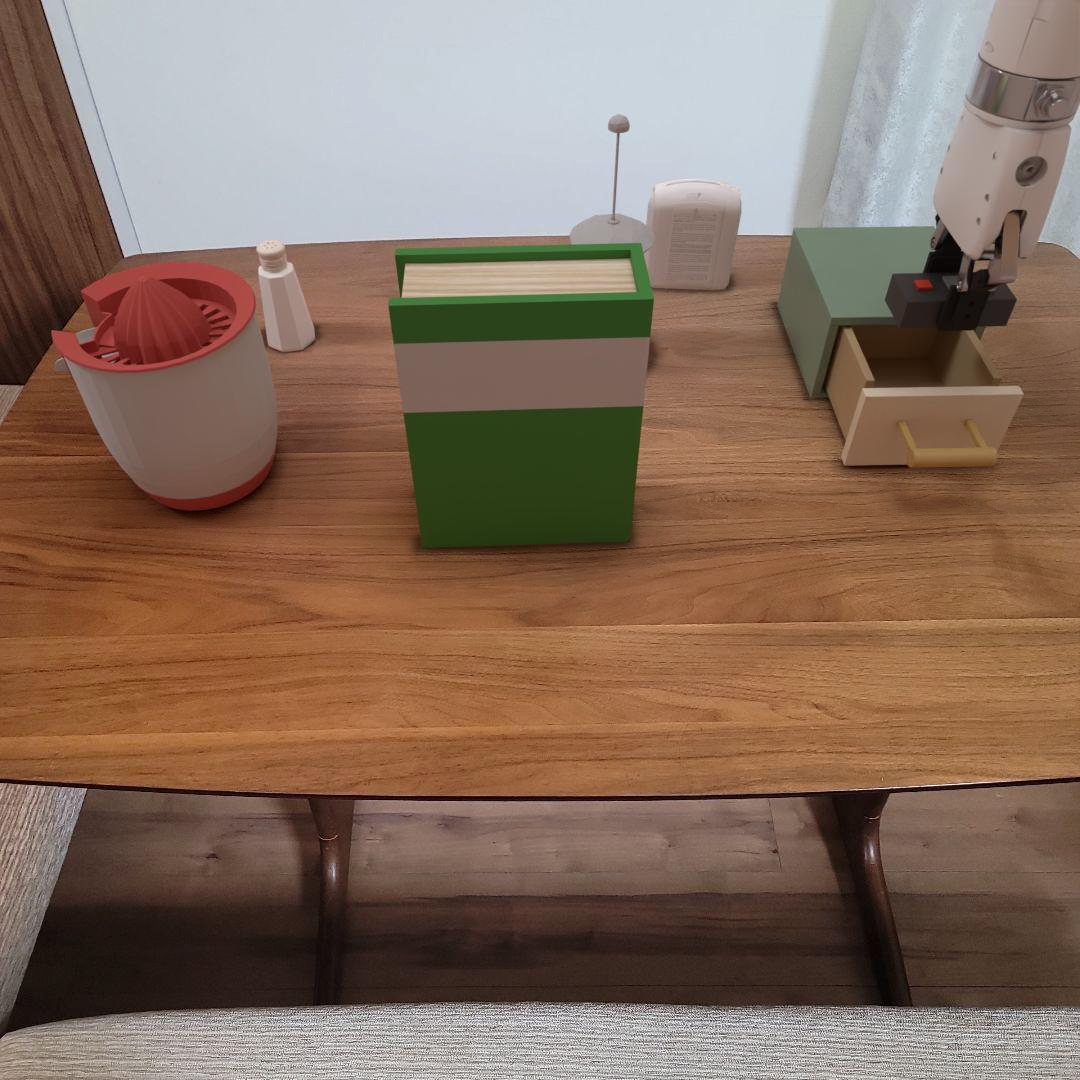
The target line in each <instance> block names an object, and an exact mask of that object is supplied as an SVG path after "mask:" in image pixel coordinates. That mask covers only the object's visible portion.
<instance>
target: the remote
mask: <svg viewBox="0 0 1080 1080" xmlns="http://www.w3.org/2000/svg"><path fill="white" fill-rule="evenodd" d="M974 272H975V271H973V273H974ZM958 275H959V272H944V273H899V274H892V277H891V280H890V284H889V287H888V290H887V294H886V297H885V302H886V304H887V306H888V307H889V309H890V311H891V313H892V315H893V317H894V319H895V321H896V323H897V325H898V326H899V328H900V329H903V328H938V327H937V322H938V319H939V316H940V313H941V311H942V308H943V305H944V302H945V299H946V296H947V294H948V291H949V288H950V285H956V284H957V279H958ZM1017 301H1018V298H1017V297H1016V296H1015V294H1014V293H1013V291H1012V290H1011V289H1010V287H1009V286H1008V283H1007V284H1001V285H999V286H997V288H996V290H995V291H992V292H991V293H990V295H989V298H988V300H987V303H986V305H985V308H984V310H983V313H982V315H981V318H980V320H979V323H978V326H977V327H986V328H987V327H988V328H989V327H990V328H991V327H1006V326H1007V325H1008V323H1009V320H1010V318H1011V315H1012V313H1013V310H1014V308H1015V306H1016V303H1017Z"/></svg>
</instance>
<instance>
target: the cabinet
mask: <svg viewBox="0 0 1080 1080" xmlns="http://www.w3.org/2000/svg"><path fill="white" fill-rule="evenodd" d="M935 229H936V227H935V226H933V225H921V226H919V225H918V226H916V225H914V226H913V225H912V226H849V227H848V226H846V227H844V226H842V227H841V226H840V227H835V226H834V227H794V228H793V229H792V234H791V239H790V243H789V247H788V252H787V258H786V261H785V267H784V272H783V277H782V282H781V287H780V291H779V295H778V301H777V305H776V306H777V309H778V311H779V315H780V317H781V320H782V323H783V325H784V328H785V331H786V334H787V337H788V339H789V342H790V345H791V348H792V351H793V353H794V356H795V359H796V361H797V364H798V368H799V370H800V373H801V376H802V378H803V382H804V384H805V386H806V387H805V388H806V389H807V390H806V391H807V393H808V396H809V399H830V398H829V396H828V393H827V391H826V388H825V385H824V383H823V382H824V378H825V375H826V371H827V367H828V364H829V360H830V356H831V352H832V349H833V345H834V341H835V338H836V334H837V330H838V327H839V325H894V324H897V323H896V321H895V319H894V317H893V315H892V313H891V311H890V309H889V307H888V306H887V304H886V302H885V297H886V294H887V290H888V287H889V284H890V280H891V277H892V274H899V273H923V270H924V267H925V264H926V261H927V258H928V255H929V252H935V250H931V248H930V240H931V237H932V235H933V233H934V231H935ZM986 328H987V327H977V328H976V329H974V332H975V333H976V335H977V337H978V338H979V340H980V341H982V338H983V335H984V333H985V330H986Z"/></svg>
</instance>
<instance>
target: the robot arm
mask: <svg viewBox="0 0 1080 1080" xmlns="http://www.w3.org/2000/svg"><path fill="white" fill-rule="evenodd" d="M986 25H987V26H986V29H985V32H984V34H983V38H982V41H981V43H980V44H981V45H980V47H979V50H978V53H977V55H976V59H975V63H974V65H973V69H972V72H971V74H970V78H969V82H968V84H967V88H966V91H965V94H964V97H963V101H962V103H963V106H964V107H963V109H962V112H961V114H960V116H959V119H958V120H957V122H956V126H955V128H954V132H953V134H952V137H951V139H950V142H949V143H948V147H947V149H946V153H945V155H944V158H943V161H942V164H941V167H940V170H939V173H938V176H937V179H936V184H935V188H934V193H933V197H932V203H933V207H934V210H935V212H936V215H935V216H934V220H935V231H934V233H933V235H932V237H931V240H930V248H931V250H935V252H929V255H928V258H927V261H926V264H925V267H924V270H923V273H944V272H959V275H958V279H957V284H956V285H950V288H949V291H948V294H947V296H946V299H945V302H944V305H943V308H942V311H941V313H940V316H939V319H938V322H937V327H938V329H939V330H940V331H970V330H974V329H976V328H977V326H978V323H979V320H980V318H981V315H982V313H983V310H984V308H985V305H986V303H987V300H988V298H989V295H990V293H991V292H992V291H995V290H996V288H997V286H999V285H1001V284H1007V285H1008V284H1011V283H1012V284H1013V283H1015V281H1016V280H1017V275H1018V263H1019V262H1018V261H1019V259H1020V260H1027V259H1029V258H1030V257H1031V256H1032V254H1033V253H1034V251H1035V250H1036V246H1037V244H1038V241H1039V239H1040V237H1041V234H1042V232H1043V229H1044V226H1045V224H1046V222H1047V221H1046V220H1047V218H1048V215H1049V212H1050V210H1051V206H1052V203H1053V201H1054V197H1055V195H1056V193H1057V189H1058V185H1059V182H1060V180H1061V176H1062V172H1063V169H1064V166H1065V161H1066V157H1067V153H1068V149H1069V145H1070V140H1071V134H1072V127H1071V125H1070V124H1071V123H1072V122H1073V120H1074V119H1075V117H1076V115H1077V112H1078V109H1079V107H1080V0H994V4H993V5H992V10H991V12H990V16H989V19H988V22H987V24H986ZM991 245H994V248H990V246H991ZM980 261H981V262H982V261H984V262H985V261H988V265H987V268H979V269H978V270H976V271H974V269H975V265H976V262H980ZM973 272H974V273H973Z"/></svg>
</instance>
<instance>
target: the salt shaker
mask: <svg viewBox="0 0 1080 1080" xmlns="http://www.w3.org/2000/svg"><path fill="white" fill-rule="evenodd" d="M255 250H256V253H257V254H258V259H259V262H260V266H258V283H259V289H260V290H259V291H260V297H261V304H262V311H263V319H264V324H265V333H266V340H267V341H266V342H267V346H268V347H269V348H272V349H274V350H276V351H278V352H281V353H291V352H298V351H299V352H300V351H303V350H304V349H305V348H307V347H308V346H310V345H311V344H313V343H314V342H315V341H316V329H315V326H314V323H313V320H312V317H311V314H310V311H309V308H308V305H307V301H306V299H305V296H304V293H303V290H302V287H301V284H300V282H299V279H298V274H297V272H296V269H295V267H294V265H293V263H292V262H290V261H288V260H287V259H288V258H287V257H288V256H287V253H286V244H285V243H284V242H282V241H281V240H278V239H268V240H263V241H262V242H260V243H258V245H257V246H256V249H255Z"/></svg>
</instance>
